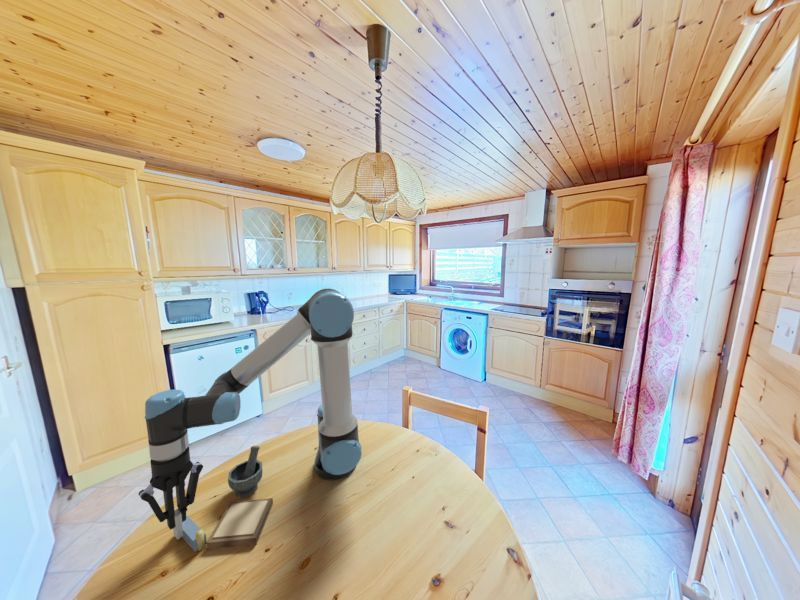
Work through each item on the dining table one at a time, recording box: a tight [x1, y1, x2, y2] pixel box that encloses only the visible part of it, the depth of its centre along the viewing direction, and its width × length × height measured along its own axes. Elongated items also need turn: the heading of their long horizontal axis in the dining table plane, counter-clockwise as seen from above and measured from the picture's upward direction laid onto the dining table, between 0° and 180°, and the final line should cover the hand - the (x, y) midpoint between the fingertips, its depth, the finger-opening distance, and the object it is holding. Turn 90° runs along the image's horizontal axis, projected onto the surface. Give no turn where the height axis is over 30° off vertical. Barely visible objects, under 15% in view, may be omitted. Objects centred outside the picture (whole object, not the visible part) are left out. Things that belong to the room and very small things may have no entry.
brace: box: [181, 515, 207, 553], centre depth 71 cm, size 11×2×4 cm, turn 59°
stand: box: [205, 497, 274, 551], centre depth 75 cm, size 12×12×2 cm
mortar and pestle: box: [227, 445, 263, 499], centre depth 87 cm, size 11×9×12 cm
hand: (178, 534), depth 71 cm, fingers closed
